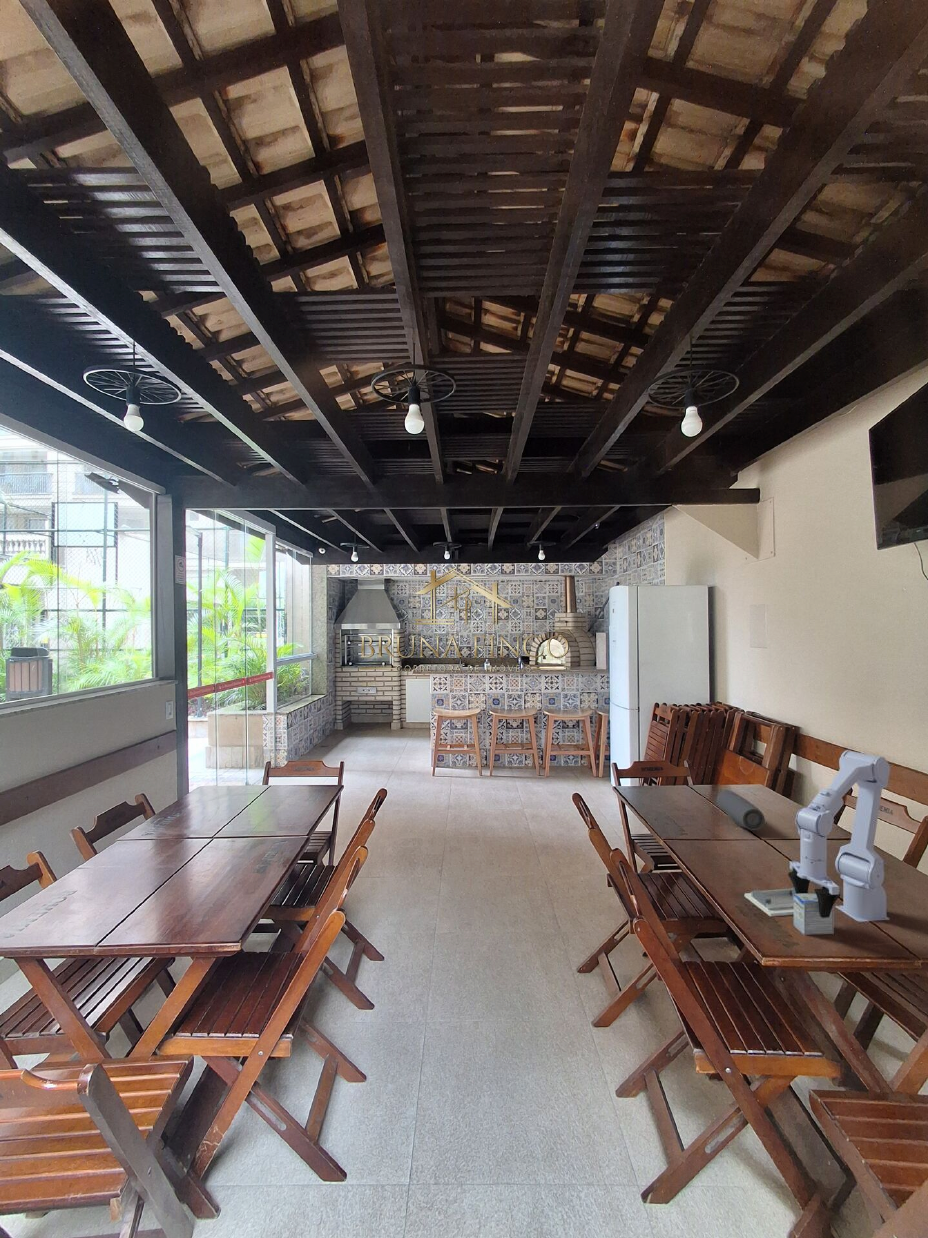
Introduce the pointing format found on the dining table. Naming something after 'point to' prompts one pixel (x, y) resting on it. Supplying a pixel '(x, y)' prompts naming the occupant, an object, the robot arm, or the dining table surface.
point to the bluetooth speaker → (740, 810)
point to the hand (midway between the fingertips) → (813, 909)
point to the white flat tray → (774, 901)
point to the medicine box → (811, 915)
